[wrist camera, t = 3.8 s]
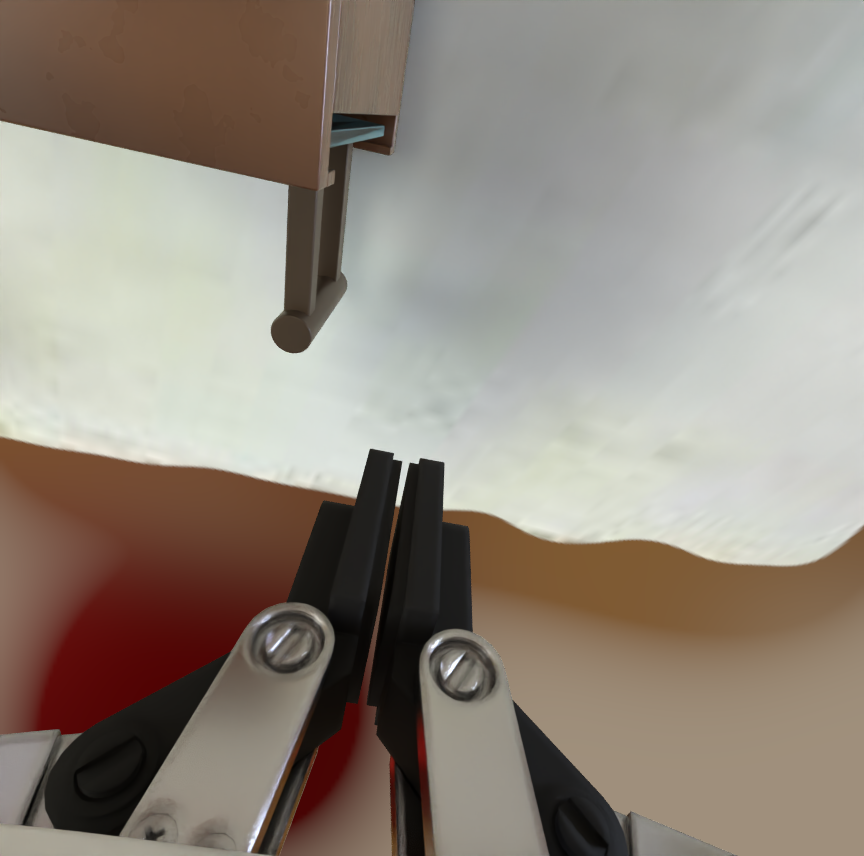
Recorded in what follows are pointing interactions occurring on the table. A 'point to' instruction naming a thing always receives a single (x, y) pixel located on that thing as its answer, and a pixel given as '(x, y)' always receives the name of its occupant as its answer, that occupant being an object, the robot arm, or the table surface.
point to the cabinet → (208, 77)
